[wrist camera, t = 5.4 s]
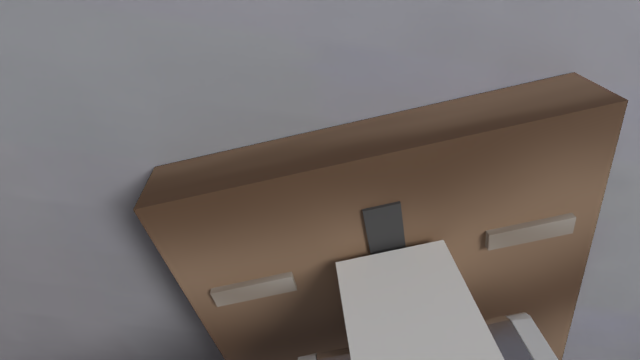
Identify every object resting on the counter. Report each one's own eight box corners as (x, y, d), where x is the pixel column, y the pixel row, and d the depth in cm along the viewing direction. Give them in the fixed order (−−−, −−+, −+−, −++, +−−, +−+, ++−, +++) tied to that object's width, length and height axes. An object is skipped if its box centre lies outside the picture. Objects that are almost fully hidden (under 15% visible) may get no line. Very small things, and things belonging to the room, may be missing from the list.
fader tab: (335, 262, 11) (359, 415, 7) (443, 239, 11) (517, 385, 7) (357, 345, 13) (383, 491, 10) (446, 327, 13) (504, 469, 10)
